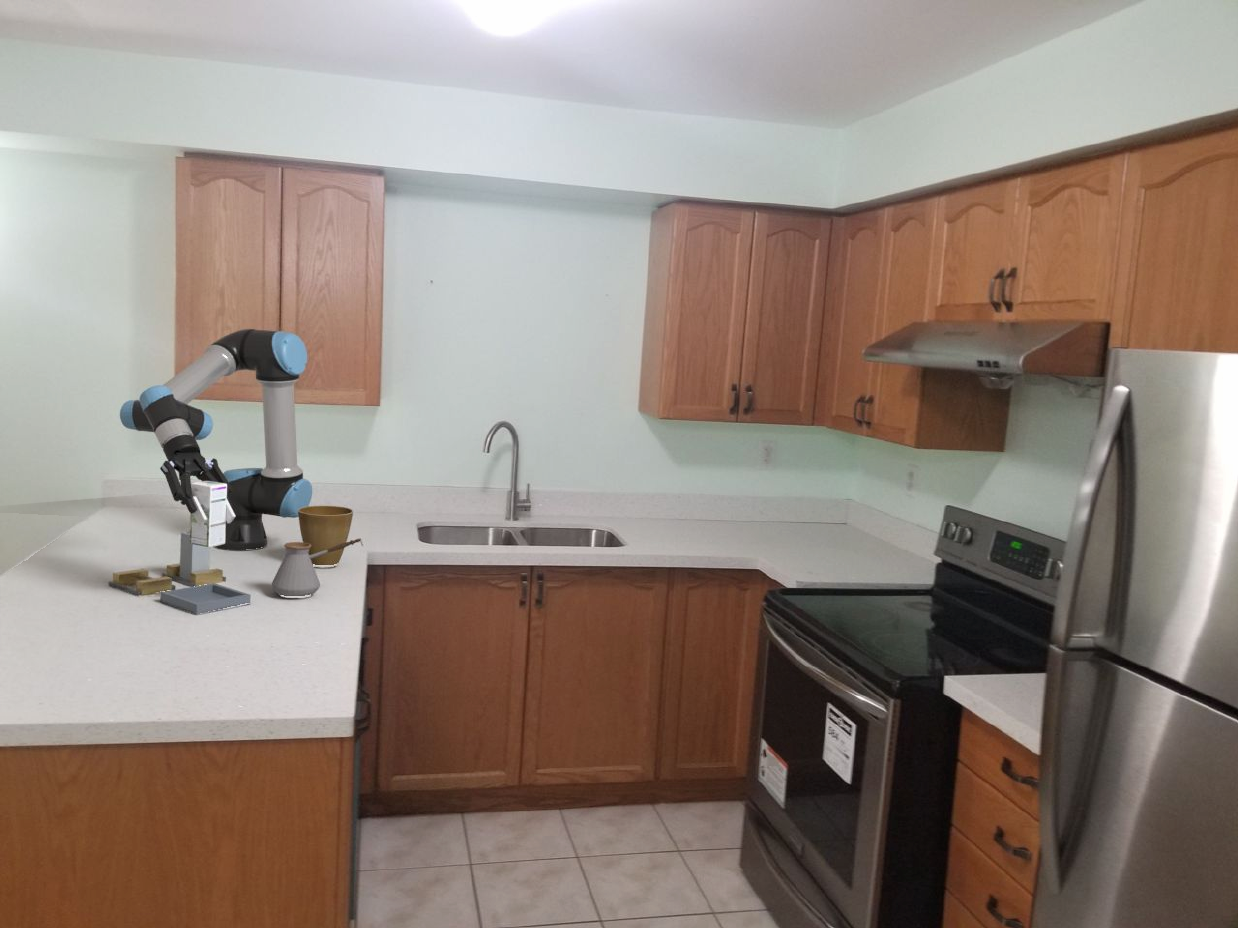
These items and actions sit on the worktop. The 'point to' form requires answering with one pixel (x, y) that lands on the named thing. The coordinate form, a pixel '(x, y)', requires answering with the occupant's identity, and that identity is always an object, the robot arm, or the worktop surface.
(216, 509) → the syrup box
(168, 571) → the clips
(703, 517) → the worktop surface
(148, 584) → the tan block holder
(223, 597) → the tray
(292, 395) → the robot arm
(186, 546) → the grey block
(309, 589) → the coffee pot
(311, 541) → the plant pot
